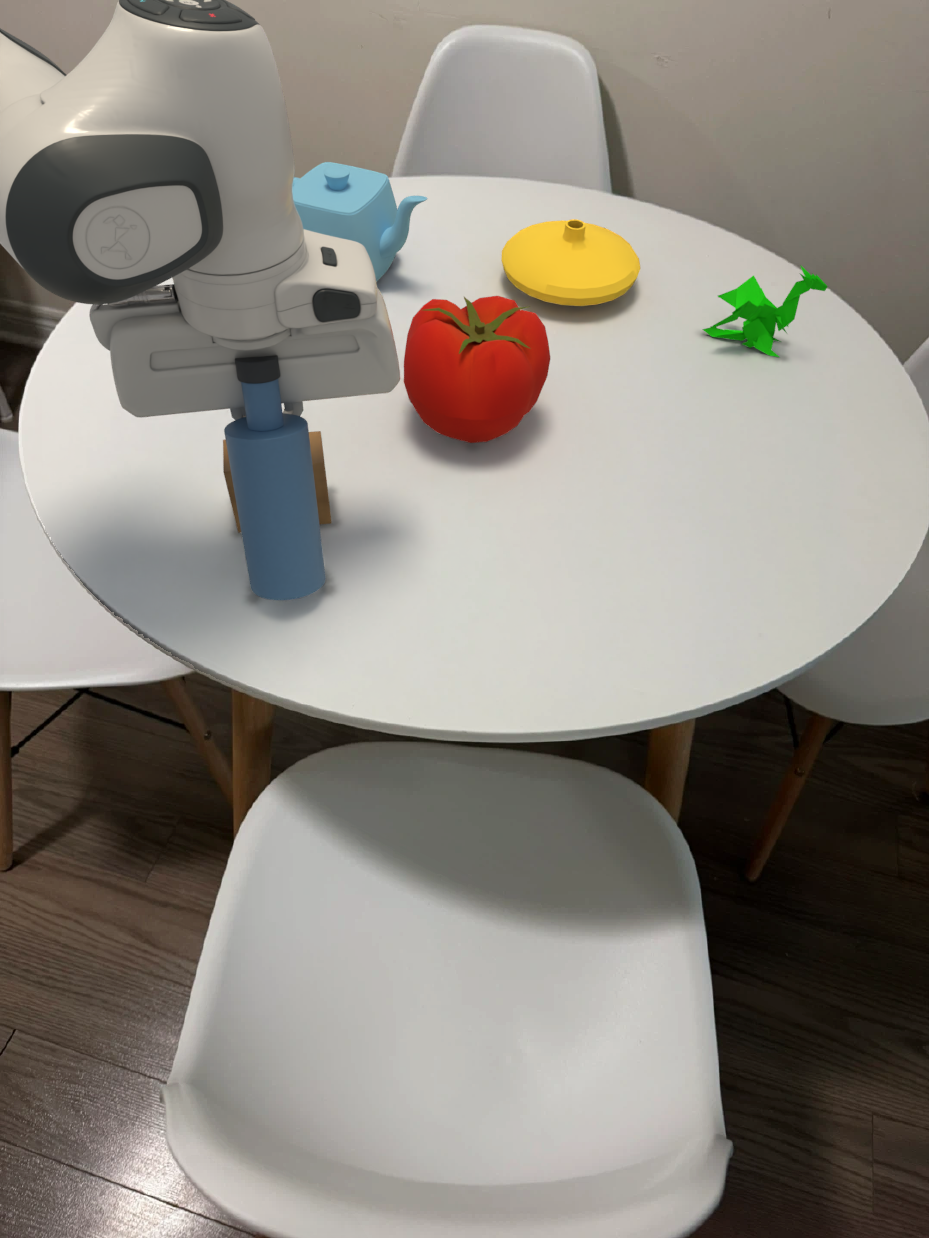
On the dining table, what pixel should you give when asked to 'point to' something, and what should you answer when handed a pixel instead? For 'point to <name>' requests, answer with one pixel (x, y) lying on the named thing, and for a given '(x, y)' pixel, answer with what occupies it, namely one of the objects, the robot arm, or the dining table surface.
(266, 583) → the bottle
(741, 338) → the figurine
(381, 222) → the teapot
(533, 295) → the vase
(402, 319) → the dining table surface
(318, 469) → the prop block
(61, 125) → the robot arm
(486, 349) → the tomato
